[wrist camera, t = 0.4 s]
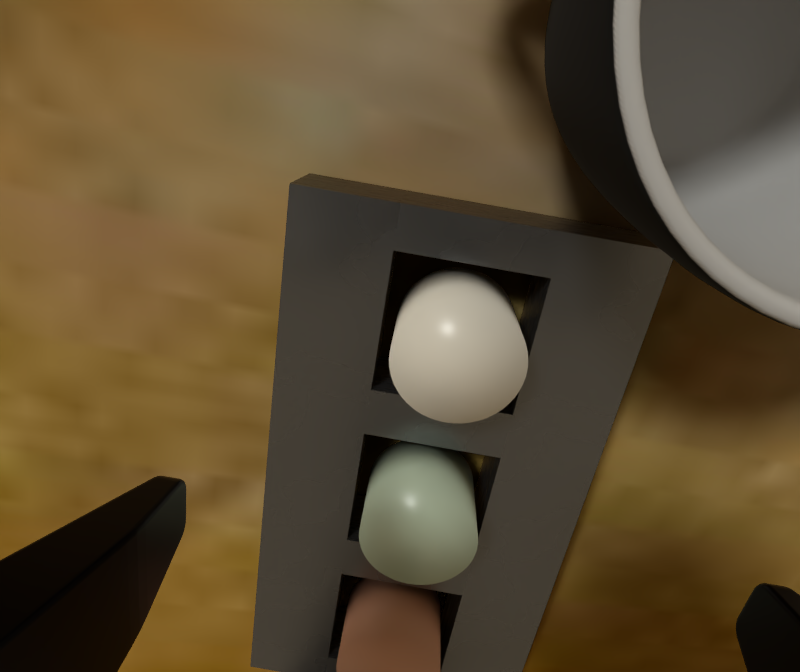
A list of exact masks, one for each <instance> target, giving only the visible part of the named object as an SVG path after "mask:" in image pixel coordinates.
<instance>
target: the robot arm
mask: <svg viewBox="0 0 800 672" xmlns="http://www.w3.org/2000/svg"><path fill="white" fill-rule="evenodd" d="M185 523H186V485H185V482H184V481H183V480H181V479H177V478H172V477H166V476H157V477H154V478H152V479H150V480H148V481H147V482H145V483H143V484H141V485H139V486H137V487H135V488H134V489H132V490H130V491H128V492H126V493H124V494H122V495H121V496H119V497H117V498H115V499H113V500H111V501H109V502H108V503H106V504H104V505H102V506H100V507H98V508H96V509H95V510H93V511H91V512H89V513H87V514H85V515H83V516H82V517H80V518H78V519H76V520H74V521H72V522H70V523H69V524H67V525H65V526H63V527H61V528H59V529H58V530H56V531H54V532H52V533H50V534H48V535H46V536H45V537H43V538H41V539H39V540H37V541H35V542H33V543H32V544H30V545H28V546H26V547H24V548H22V549H20V550H19V551H17V552H15V553H13V554H11V555H9V556H7V557H6V558H4V559H2V560H0V672H117V671H118V670H119V668H120V666H121V664H122V663H123V661H124V659H125V657H126V656H127V654H128V652H129V650H130V649H131V647H132V645H133V643H134V641H135V639H136V638H137V636H138V634H139V632H140V630H141V628H142V626H143V624H144V621H145V619H146V617H147V615H148V613H149V610H150V608H151V606H152V604H153V601H154V599H155V597H156V594H157V592H158V590H159V588H160V585H161V583H162V581H163V579H164V576H165V574H166V572H167V569H168V567H169V565H170V563H171V560H172V558H173V556H174V554H175V551H176V549H177V547H178V544H179V542H180V540H181V538H182V535H183V532H184V528H185ZM736 634H737V639H738V642H739V645H740V648H741V652H742V655H743V658H744V661H745V665H746V668H747V671H748V672H800V595H799V594H797V593H796V592H795V591H793V590H792V589H790V588H787V587H784V586H778V585H772V584H767V583H762V584H759V585H758V586H756V587H755V588H754V590H753V592H752V593H751V595H750V597H749V599H748V601H747V602H746V604H745V606H744V608H743V610H742V611H741V613H740V615H739V617H738V619H737V623H736Z"/></svg>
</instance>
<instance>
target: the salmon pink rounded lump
mask: <svg viewBox="0 0 800 672" xmlns="http://www.w3.org/2000/svg"><path fill="white" fill-rule="evenodd" d="M440 616H441V607H440V600H439V597H438V595H437V593H436V591H434V590H429V589H423V588H418V587H412V586H406V585H401V584H395V583H390V582H384V581H378V580H373V579H367V578H362V579H361V580H360V581H358V582H357V583H356V584H355V586H354V587H353V589H352V590H351V593H350V596H349V601H348V606H347V611H346V617H345V622H344V627H343V632H342V638H341V643H340V648H339V654H338V659H337V664H336V671H337V672H440Z"/></svg>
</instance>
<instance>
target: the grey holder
mask: <svg viewBox="0 0 800 672" xmlns="http://www.w3.org/2000/svg"><path fill="white" fill-rule="evenodd" d="M396 251H399V252H405V253H410V254H416V255H422V256H427V257H433V258H439V259H444V260H450V261H456V262H461V263H467V264H473V265H478V266H484V267H490V268H495V269H501V270H506V271H512V272H518V273H523V274H529V275H532V278H531V282H530V286H529V290H528V293H527V297H526V301H525V305H524V309H523V312H522V316H521V320H520V324H519V326H520V329H521V331H522V334H523V337H524V340H525V343H526V347H527V351H528V369H527V374H526V378H525V380H524V383H523V385H522V387H521V389H520V391H519V392H518V394H517V395H516V397H515V398H514V399H513V400H512V401H511V402H510V403H509V404H508V405H507V406H506V407H505V408H503V409H502V410H501V411H499V412H497V413H496V414H494V415H492V416H490V417H488V418H485V419H482V420H480V421H475V422H471V423H446V422H441V421H437V420H434V419H431V418H428V417H426V416H424V415H422V414H420V413H419V412H417V411H416V410H414V409H413V408H412V407H411V406H410V405H408V404H407V403H406V402H405V400H404V399H403V398H402V397H401V396H400V394H399V393H398V391H397V389H396V387H395V386H394V384H393V381H392V378H391V374H390V369H389V359H387V358H382V357H379V355H380V349H381V343H382V337H383V331H384V325H385V318H386V312H387V306H388V300H389V294H390V288H391V282H392V275H393V269H394V263H395V257H396ZM672 261H673V259H672V258H671V257H670V256H669V255H667V254H666V253H665V252H663V251H662V250H661V249H660V248H658V247H657V246H656V245H655V244H653V243H652V242H651V241H650V240H648V239H647V238H646V237H645V236H644V235H643V234H641V233H640V232H639V231H633V230H627V229H622V228H616V227H610V226H605V225H599V224H593V223H588V222H582V221H576V220H571V219H565V218H559V217H554V216H548V215H542V214H537V213H531V212H525V211H520V210H514V209H508V208H503V207H497V206H491V205H486V204H480V203H474V202H469V201H463V200H457V199H452V198H446V197H440V196H435V195H429V194H423V193H418V192H412V191H406V190H401V189H395V188H389V187H384V186H378V185H372V184H367V183H361V182H355V181H350V180H344V179H338V178H333V177H327V176H322V175H316V174H310V173H309V174H307V175H305V176H303V177H301V178H300V179H298V180H296V181H294V182H292V183H290V186H289V198H288V210H287V223H286V235H285V247H284V260H283V272H282V284H281V297H280V309H279V321H278V334H277V346H276V358H275V371H274V383H273V395H272V408H271V420H270V433H269V445H268V457H267V470H266V482H265V494H264V507H263V519H262V531H261V544H260V556H259V568H258V581H257V593H256V605H255V618H254V630H253V642H252V655H251V667H257V668H263V669H268V670H274V671H279V672H337V671H336V664H337V659H338V654H339V648H340V643H341V638H342V632H343V627H344V622H345V617H346V611H347V608H346V607H341V606H339V601H340V595H341V589H342V583H343V577H344V574H345V575H350V576H356V577H362V578H367V579H373V580H378V581H384V582H390V583H395V584H401V585H406V586H412V587H418V588H423V589H429V590H434V591H440V592H446V593H448V594H447V598H446V601H445V605H444V609H443V613H442V616H441V620H440V672H522V670H523V668H524V665H525V662H526V659H527V657H528V654H529V651H530V649H531V646H532V643H533V640H534V638H535V635H536V632H537V629H538V627H539V624H540V621H541V618H542V616H543V613H544V610H545V608H546V605H547V602H548V599H549V597H550V594H551V591H552V588H553V586H554V583H555V580H556V578H557V575H558V572H559V569H560V567H561V564H562V561H563V558H564V556H565V553H566V550H567V547H568V545H569V542H570V539H571V537H572V534H573V531H574V528H575V526H576V523H577V520H578V517H579V515H580V512H581V509H582V507H583V504H584V501H585V498H586V496H587V493H588V490H589V487H590V485H591V482H592V479H593V476H594V474H595V471H596V468H597V466H598V463H599V460H600V457H601V455H602V452H603V449H604V446H605V444H606V441H607V438H608V436H609V433H610V430H611V427H612V425H613V422H614V419H615V416H616V414H617V411H618V408H619V405H620V403H621V400H622V397H623V395H624V392H625V389H626V386H627V384H628V381H629V378H630V375H631V373H632V370H633V367H634V365H635V362H636V359H637V356H638V354H639V351H640V348H641V345H642V343H643V340H644V337H645V334H646V332H647V329H648V326H649V324H650V321H651V318H652V315H653V313H654V310H655V307H656V304H657V302H658V299H659V296H660V294H661V291H662V288H663V285H664V283H665V280H666V277H667V274H668V272H669V269H670V266H671V263H672ZM367 434H368V435H374V436H379V437H385V438H391V439H396V440H402V441H407V442H413V443H419V444H424V445H430V446H436V447H441V448H447V449H452V450H458V451H464V452H469V453H475V454H481V455H484V459H483V462H482V466H481V470H480V474H479V477H478V481H477V485H476V489H475V493H474V496H475V508H476V520H477V532H478V547H477V551H476V554H475V556H474V558H473V560H472V562H471V563H470V564H469V566H468V567H467V568H466V569H465V570H464V571H462V572H461V573H460V574H458V575H457V576H455V577H453V578H451V579H449V580H446V581H444V582H440V583H436V584H429V585H414V584H407V583H403V582H399V581H396V580H393V579H391V578H389V577H387V576H385V575H384V574H382V573H380V572H379V571H378V570H376V569H375V568H374V567H373V566H372V565H371V564H370V563H369V561H368V560H367V559H366V557H365V556H364V554H363V552H362V549H361V546H360V542H359V529H360V524H361V519H362V514H363V509H364V504H365V498H366V497H364V496H359V495H357V490H358V484H359V478H360V472H361V466H362V460H363V454H364V447H365V441H366V435H367Z"/></svg>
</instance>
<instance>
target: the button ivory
mask: <svg viewBox="0 0 800 672" xmlns="http://www.w3.org/2000/svg"><path fill="white" fill-rule="evenodd" d="M389 369H390V374H391V378H392V381H393V384H394V386H395V387H396V389H397V391H398V393H399V394H400V396H401V397H402V398H403V399H404V400H405V402H406V403H407V404H408V405H410V406H411V407H412V408H413V409H414V410H416V411H417V412H419V413H420V414H422V415H424V416H426V417H428V418H431V419H434V420H437V421H441V422H446V423H471V422H475V421H480V420H482V419H485V418H488V417H490V416H492V415H494V414H496V413H497V412H499V411H501V410H502V409H503V408H505V407H506V406H507V405H508V404H509V403H510V402H511V401H512V400H513V399H514V398H515V397H516V395H517V394H518V392H519V391H520V389H521V387H522V385H523V383H524V380H525V378H526V374H527V369H528V351H527V347H526V343H525V340H524V337H523V334H522V331H521V329H520V326H519V323H518V320H517V317H516V314H515V312H514V309H513V306H512V303H511V301H510V299H509V297H508V295H507V294H506V292H505V291H504V290H503V288H502V287H501V286H500V285H499V284H498V283H497V282H496V281H494V280H493V279H492V278H490V277H489V276H487V275H485V274H483V273H481V272H478V271H476V270H472V269H467V268H447V269H442V270H438V271H435V272H432V273H430V274H428V275H426V276H424V277H423V278H421V279H420V280H419V281H417V282H416V283H415V284H414V285H413V286H412V287H411V288H410V289H409V291H408V292H407V293H406V295H405V296H404V298H403V300H402V302H401V305H400V307H399V311H398V315H397V320H396V325H395V329H394V334H393V339H392V343H391V348H390V354H389Z"/></svg>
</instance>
